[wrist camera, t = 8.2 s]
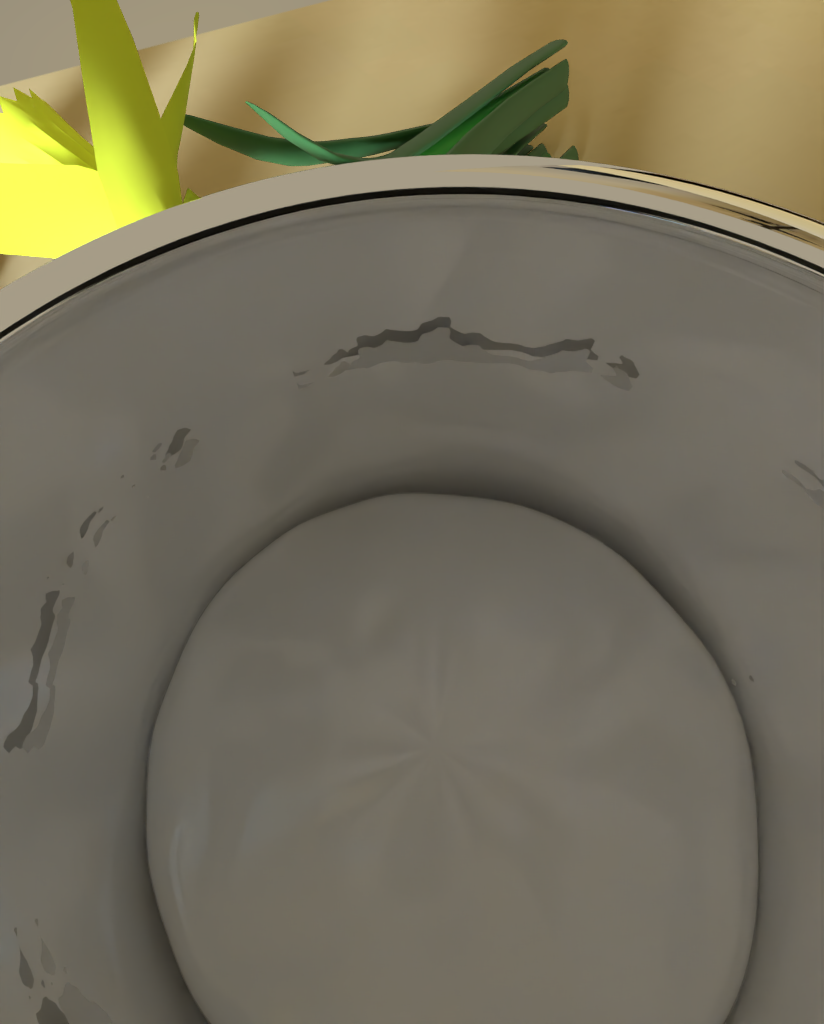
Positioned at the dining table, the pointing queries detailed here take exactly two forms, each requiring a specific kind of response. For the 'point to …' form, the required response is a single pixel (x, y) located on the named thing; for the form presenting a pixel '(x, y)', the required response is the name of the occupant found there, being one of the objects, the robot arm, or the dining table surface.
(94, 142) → the daffodil flowers
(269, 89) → the dining table surface
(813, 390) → the silver metal goblet
